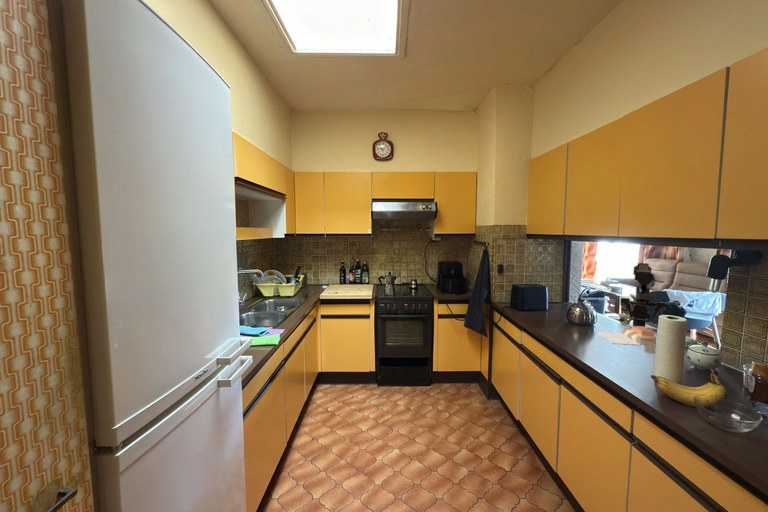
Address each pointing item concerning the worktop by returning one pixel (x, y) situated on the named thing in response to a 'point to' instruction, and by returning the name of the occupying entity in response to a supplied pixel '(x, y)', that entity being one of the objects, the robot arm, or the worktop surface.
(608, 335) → the mat
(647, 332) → the tile
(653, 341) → the board
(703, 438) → the worktop surface
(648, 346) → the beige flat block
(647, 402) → the worktop surface
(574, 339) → the worktop surface
